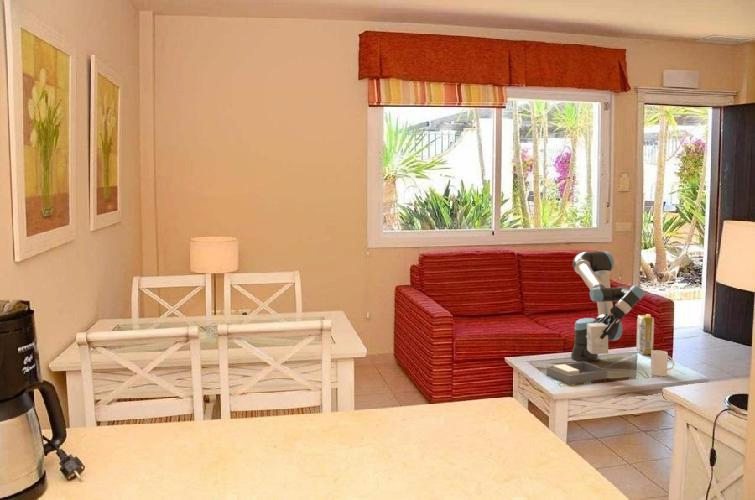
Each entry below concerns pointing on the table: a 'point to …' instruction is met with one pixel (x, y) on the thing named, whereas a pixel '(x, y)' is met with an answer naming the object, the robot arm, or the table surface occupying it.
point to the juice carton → (645, 334)
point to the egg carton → (566, 369)
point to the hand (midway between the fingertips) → (591, 340)
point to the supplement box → (593, 333)
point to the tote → (585, 373)
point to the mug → (659, 363)
